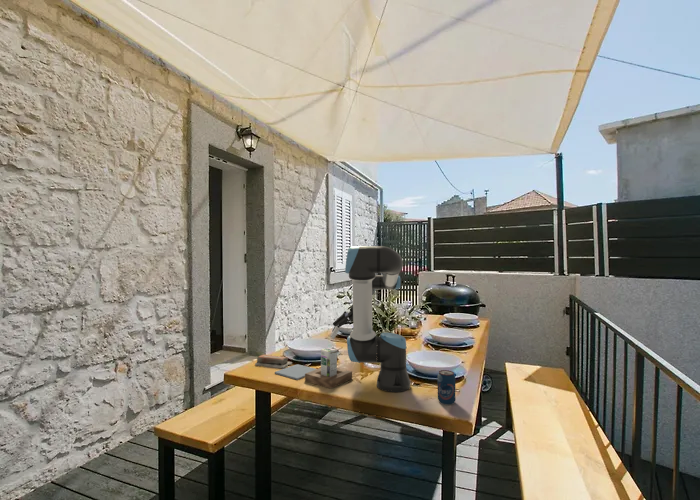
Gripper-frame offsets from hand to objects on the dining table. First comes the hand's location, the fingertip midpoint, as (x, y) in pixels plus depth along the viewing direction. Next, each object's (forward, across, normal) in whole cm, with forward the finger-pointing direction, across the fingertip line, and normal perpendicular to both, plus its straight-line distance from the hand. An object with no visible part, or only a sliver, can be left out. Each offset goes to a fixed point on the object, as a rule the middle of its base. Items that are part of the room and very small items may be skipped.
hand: (342, 339), depth 176 cm
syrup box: (+20, 0, -4) cm, 20 cm away
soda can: (+14, -55, -10) cm, 58 cm away
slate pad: (+21, +20, -3) cm, 29 cm away
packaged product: (+20, +40, -5) cm, 45 cm away
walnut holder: (+20, 0, -4) cm, 20 cm away
